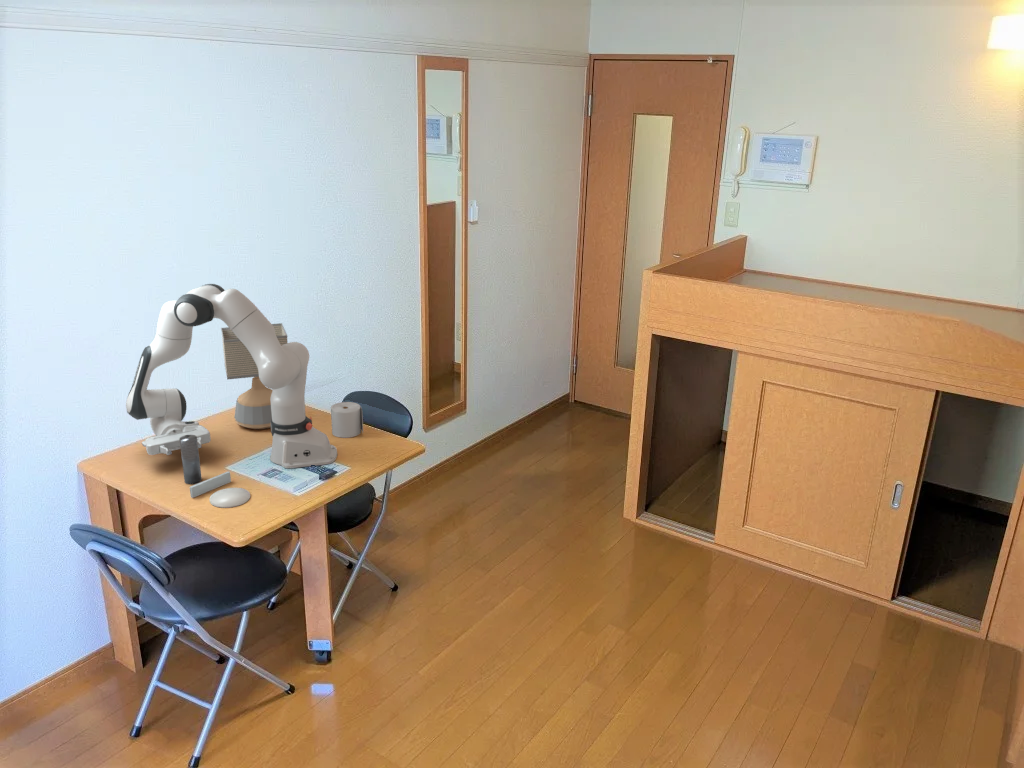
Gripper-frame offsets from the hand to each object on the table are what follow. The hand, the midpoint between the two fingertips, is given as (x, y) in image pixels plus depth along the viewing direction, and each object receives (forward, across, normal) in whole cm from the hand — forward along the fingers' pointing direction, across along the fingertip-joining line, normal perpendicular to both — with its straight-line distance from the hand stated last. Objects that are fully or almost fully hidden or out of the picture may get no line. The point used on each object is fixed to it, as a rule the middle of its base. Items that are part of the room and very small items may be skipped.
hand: (184, 449), depth 272 cm
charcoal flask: (+7, 0, +8) cm, 11 cm away
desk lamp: (-27, +35, +8) cm, 45 cm away
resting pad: (+25, +6, +8) cm, 27 cm away
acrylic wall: (+16, +3, +8) cm, 19 cm away
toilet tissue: (-2, +58, +9) cm, 59 cm away
